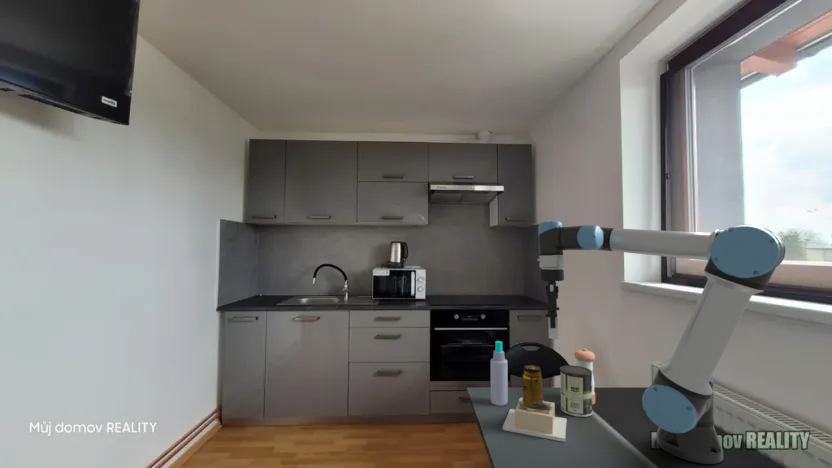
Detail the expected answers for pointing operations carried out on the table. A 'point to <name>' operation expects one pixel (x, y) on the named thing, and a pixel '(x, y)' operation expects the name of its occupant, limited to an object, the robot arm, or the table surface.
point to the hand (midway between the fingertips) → (553, 334)
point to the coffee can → (576, 390)
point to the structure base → (554, 436)
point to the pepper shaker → (586, 364)
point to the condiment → (533, 389)
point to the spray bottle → (499, 376)
